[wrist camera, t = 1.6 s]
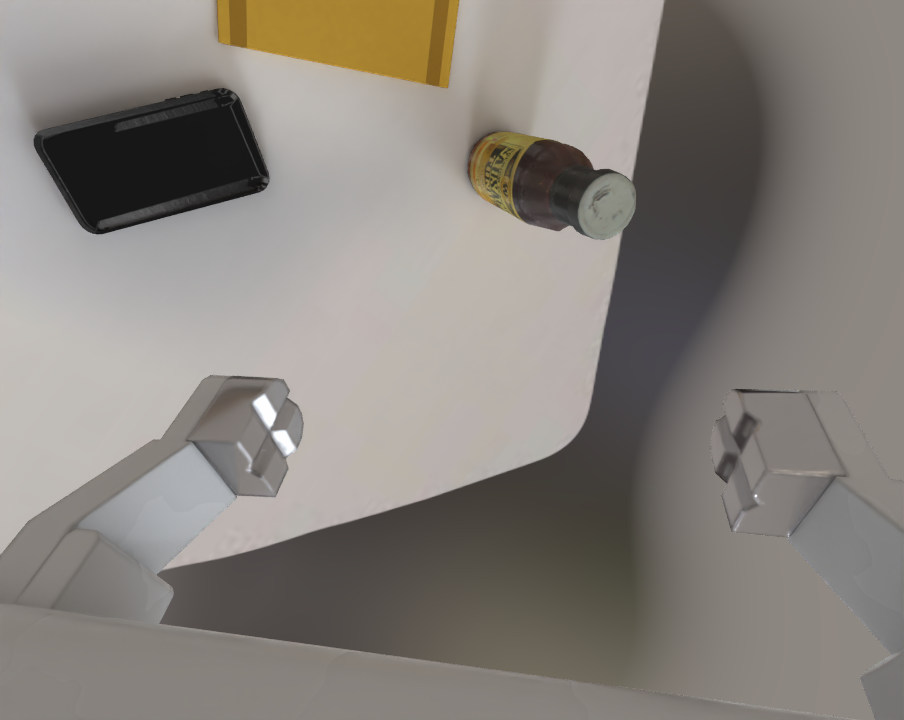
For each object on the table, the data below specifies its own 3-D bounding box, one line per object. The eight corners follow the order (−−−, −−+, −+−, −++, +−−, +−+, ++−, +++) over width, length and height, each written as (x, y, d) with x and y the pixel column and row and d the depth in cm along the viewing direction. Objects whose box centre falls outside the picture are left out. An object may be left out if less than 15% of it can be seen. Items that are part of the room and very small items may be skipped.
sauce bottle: (461, 134, 44) (560, 145, 27) (526, 127, 45) (659, 133, 28) (467, 208, 47) (559, 260, 30) (527, 200, 48) (648, 245, 31)
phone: (272, 188, 41) (87, 238, 39) (273, 187, 42) (92, 235, 40) (232, 83, 37) (24, 132, 35) (234, 84, 38) (32, 131, 36)
